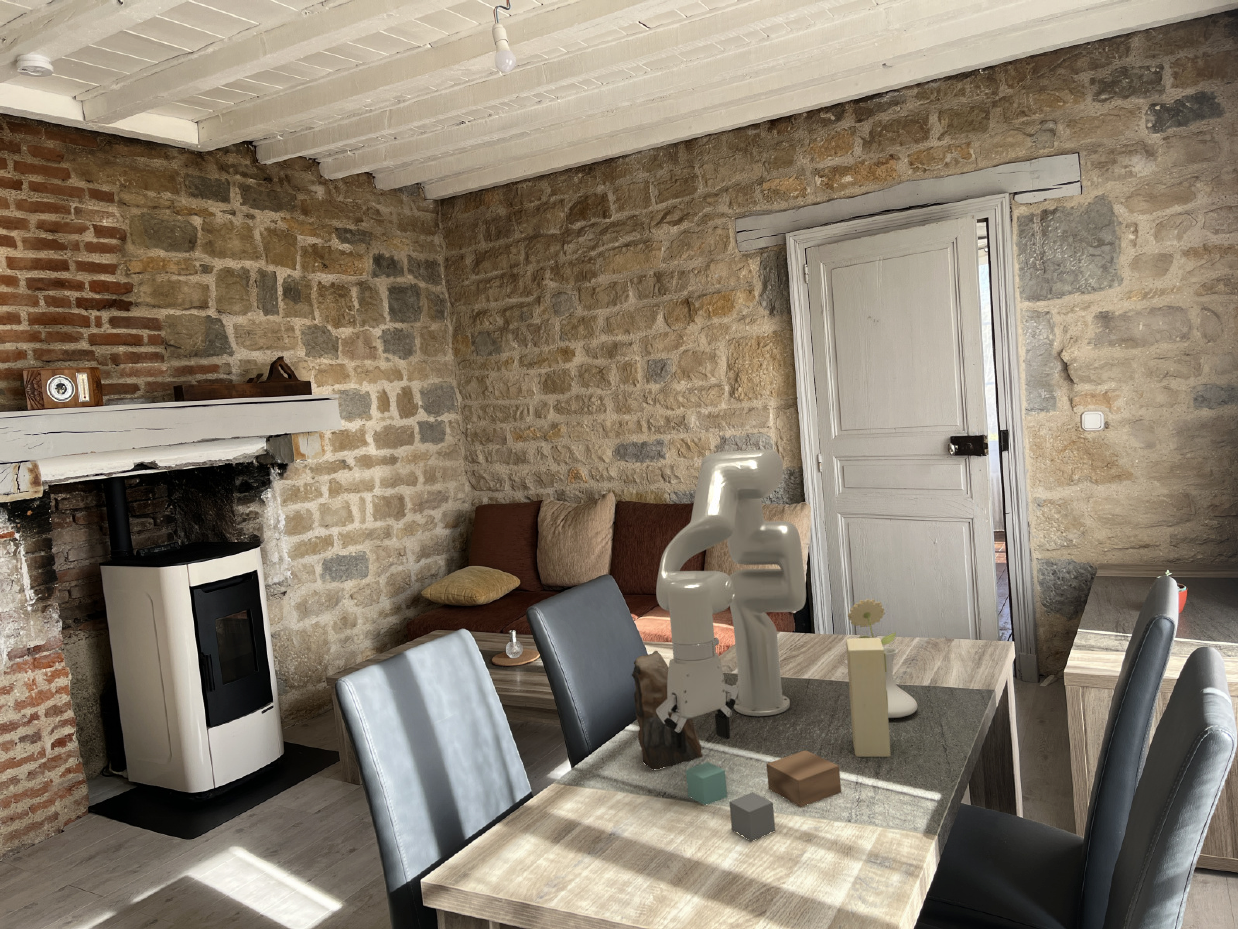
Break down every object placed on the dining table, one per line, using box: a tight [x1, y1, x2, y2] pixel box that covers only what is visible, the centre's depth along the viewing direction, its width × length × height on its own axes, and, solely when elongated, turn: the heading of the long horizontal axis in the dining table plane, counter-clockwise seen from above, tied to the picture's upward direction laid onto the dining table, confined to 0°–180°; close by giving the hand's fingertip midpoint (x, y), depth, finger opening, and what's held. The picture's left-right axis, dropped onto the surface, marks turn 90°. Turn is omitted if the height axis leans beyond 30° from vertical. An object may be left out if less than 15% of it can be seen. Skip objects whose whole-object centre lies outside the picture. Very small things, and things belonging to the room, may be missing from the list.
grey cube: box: [728, 791, 776, 842], centre depth 143 cm, size 5×5×5 cm
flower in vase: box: [847, 598, 918, 719], centre depth 187 cm, size 13×11×25 cm
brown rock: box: [631, 650, 704, 771], centre depth 177 cm, size 13×13×20 cm
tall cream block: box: [845, 637, 891, 758], centre depth 170 cm, size 8×7×21 cm
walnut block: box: [765, 750, 842, 808], centre depth 156 cm, size 9×9×5 cm
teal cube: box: [685, 761, 728, 806], centre depth 157 cm, size 5×5×5 cm
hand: (701, 744), depth 156 cm, fingers open, 9 cm apart
